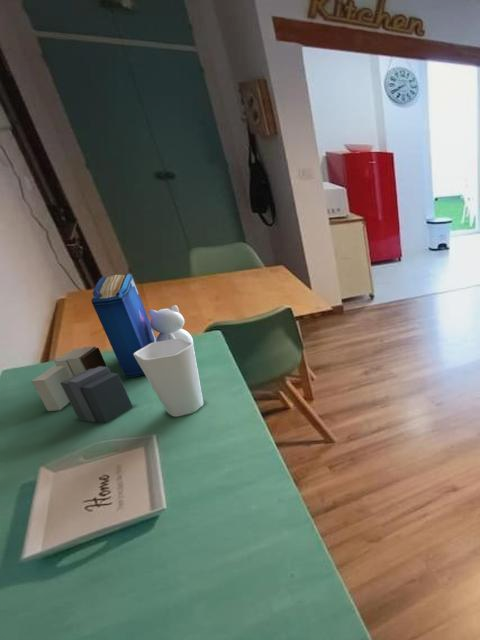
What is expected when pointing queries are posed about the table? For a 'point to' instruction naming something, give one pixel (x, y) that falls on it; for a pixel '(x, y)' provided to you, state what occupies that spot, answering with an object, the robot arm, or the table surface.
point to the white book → (52, 388)
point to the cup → (172, 374)
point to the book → (123, 319)
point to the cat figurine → (169, 324)
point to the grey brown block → (81, 360)
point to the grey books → (97, 395)
